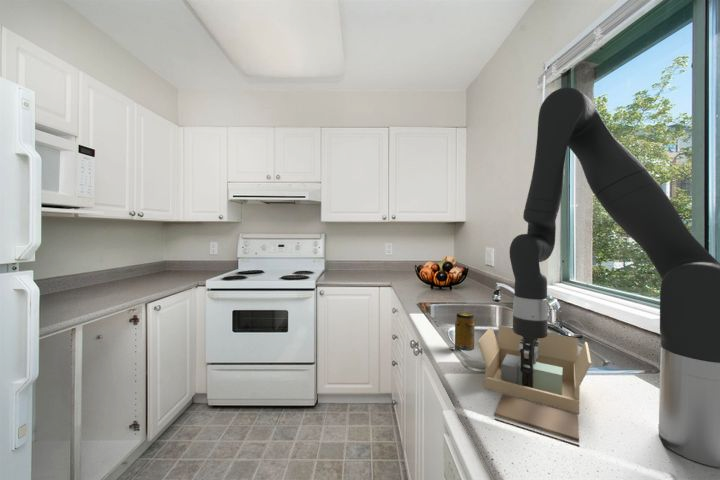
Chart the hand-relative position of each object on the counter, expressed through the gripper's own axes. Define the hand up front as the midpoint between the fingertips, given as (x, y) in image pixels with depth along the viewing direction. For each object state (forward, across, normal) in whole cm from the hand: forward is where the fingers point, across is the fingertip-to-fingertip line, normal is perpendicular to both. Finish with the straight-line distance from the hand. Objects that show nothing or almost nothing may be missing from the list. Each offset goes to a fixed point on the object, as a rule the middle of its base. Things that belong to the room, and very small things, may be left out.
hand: (528, 383), depth 76 cm
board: (+1, -14, -3) cm, 15 cm away
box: (0, 0, 0) cm, 0 cm away
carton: (+1, 0, -1) cm, 1 cm away
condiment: (+1, +16, +19) cm, 25 cm away
